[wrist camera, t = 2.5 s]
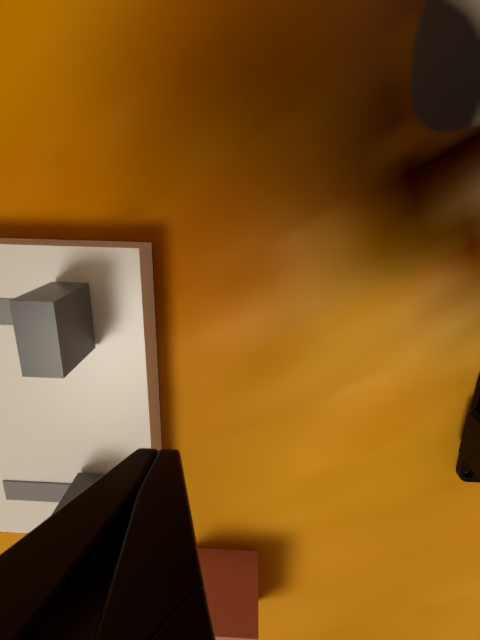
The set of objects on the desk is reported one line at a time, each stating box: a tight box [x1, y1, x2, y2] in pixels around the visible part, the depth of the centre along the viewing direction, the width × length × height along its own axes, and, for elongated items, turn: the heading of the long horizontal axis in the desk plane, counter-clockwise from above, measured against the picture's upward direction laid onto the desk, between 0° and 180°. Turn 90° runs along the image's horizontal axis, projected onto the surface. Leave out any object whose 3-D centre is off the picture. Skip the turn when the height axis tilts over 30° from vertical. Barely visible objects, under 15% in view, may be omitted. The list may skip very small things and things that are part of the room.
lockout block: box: [198, 548, 258, 640], centre depth 22 cm, size 4×4×5 cm
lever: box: [52, 473, 104, 514], centre depth 19 cm, size 2×3×3 cm, turn 178°
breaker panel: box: [0, 238, 162, 533], centre depth 19 cm, size 11×16×3 cm
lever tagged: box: [9, 282, 96, 378], centre depth 15 cm, size 2×3×3 cm, turn 178°
